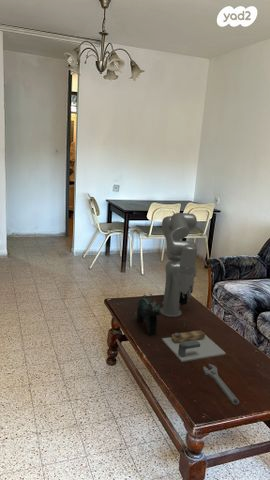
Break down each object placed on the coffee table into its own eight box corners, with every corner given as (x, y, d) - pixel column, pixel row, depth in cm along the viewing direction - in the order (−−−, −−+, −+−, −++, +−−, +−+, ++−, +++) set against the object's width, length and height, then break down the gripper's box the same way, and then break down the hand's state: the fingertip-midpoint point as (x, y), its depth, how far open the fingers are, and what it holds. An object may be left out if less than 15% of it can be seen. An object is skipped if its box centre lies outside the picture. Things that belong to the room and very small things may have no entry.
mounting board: (162, 339, 181) (163, 328, 179) (202, 334, 190) (204, 323, 189) (181, 362, 163) (183, 349, 162) (225, 354, 172) (227, 342, 171)
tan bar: (174, 343, 177) (175, 336, 176) (170, 338, 181) (171, 332, 180) (204, 338, 183) (205, 332, 182) (200, 334, 187) (200, 328, 186)
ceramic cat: (158, 336, 184) (162, 300, 179) (147, 337, 182) (151, 301, 177) (143, 318, 202) (147, 285, 197) (133, 319, 200) (136, 286, 195)
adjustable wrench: (240, 406, 138) (240, 402, 138) (224, 407, 137) (225, 403, 137) (213, 367, 162) (214, 363, 162) (200, 368, 161) (200, 364, 160)
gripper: (173, 265, 185) (169, 298, 190) (188, 275, 171) (183, 311, 176) (185, 264, 188) (181, 297, 192) (201, 274, 174) (196, 309, 179)
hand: (182, 303), depth 184 cm, fingers closed
